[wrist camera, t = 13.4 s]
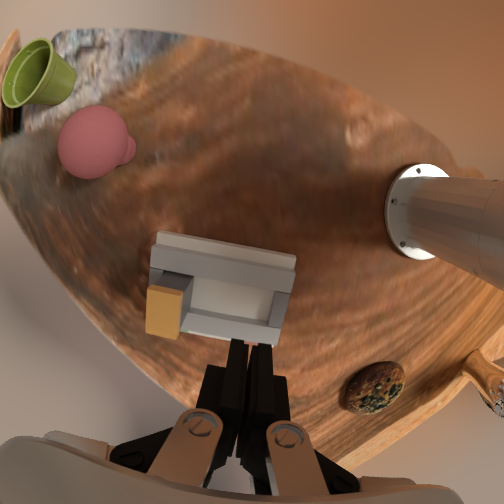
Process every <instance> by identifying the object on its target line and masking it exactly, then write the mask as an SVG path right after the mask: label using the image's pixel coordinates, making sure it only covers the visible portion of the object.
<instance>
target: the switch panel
mask: <svg viewBox="0 0 504 504" xmlns="http://www.w3.org/2000/svg"><path fill="white" fill-rule="evenodd" d="M295 263H296V257H295V255H293V254H287V253H282V252H277V251H271V250H266V249H261V248H256V247H250V246H245V245H240V244H234V243H229V242H224V241H218V240H213V239H207V238H202V237H197V236H191V235H186V234H180V233H175V232H170V231H164V230H160V231H159V232H157V239H156V244H154V245H153V246H152V248H151V259H150V271H149V284H148V287H149V286H150V285H151V284H152V285H154V284H155V283H156V282H157V281H158V280H159V279H160V278H161V276H162V275H163V274H164V273H165V272H166V271H172V272H177V273H182V274H187V275H192V276H194V283H193V291H192V298H191V306H190V308H189V310H188V313H187V315H186V317H185V319H184V321H183V324H182V326H181V328H180V330H179V331H181V332H186V333H192V334H196V335H201V336H206V337H212V338H217V339H222V340H228V341H231V338H235V339H241V340H244V344H251V345H257V346H258V343H265V344H271V345H272V348H273V347H274V345H275V346H277V343H278V339H279V335H280V332H281V328H282V325H283V321H284V317H285V314H286V310H287V306H288V302H289V298H290V295H291V294H290V293H291V291H292V287H293V283H294V279H295V275H296V272H295V270H294V267H295Z"/></svg>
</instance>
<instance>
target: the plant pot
mask: <svg viewBox="0 0 504 504" xmlns="http://www.w3.org/2000/svg"><path fill="white" fill-rule="evenodd" d="M75 80H76V72H75V70H74V68H72V67H71V66H70V65H69V64H68V63H67V62H66V61H65V60H64V59H62V58H61V57H60V56H59V55H58V54H57V53H56V51H55V49H54V48H53V45H52V43H51V41H50V40H48V39H47V38H38V39H35V40H33V41H32V42H30V43H28V44H27V45H26V46H24V47H23V48H22V49H21V50H20V51H19V53H18V54H17V55H16V56H15V58H14V59H13V61H12V62H11V64H10V66H9V68H8V70H7V72H6V75H5V78H4V81H3V86H2V98H3V102H4V103H5V105H6V106H7V107H9V108H17V107H20V106H22V105H26V104H45V105H56V104H59V103H61V102H63V101H64V100H65V99H66V98H67V97H68V96H69V95H70V94H71V92H72V90H73V88H74V83H75Z"/></svg>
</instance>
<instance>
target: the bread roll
mask: <svg viewBox="0 0 504 504" xmlns="http://www.w3.org/2000/svg"><path fill="white" fill-rule="evenodd" d="M405 378H406V376H405V373H404V370H403V367H402V366H400V365H399V364H398V363H394V362H382V363H378V364H375V365H371V366H369V367H368V368H366V369H364V370H362V371H360V372H358V373H357V374H356V375H355V376H354V377H353V378H352V380H351V381H350V384H349V385H348V388H347V391H346V407H347V409H348V410H349V411H350V412H351V413H354V414H358V415H369V414H375V413H377V412H381V411H382V410H383V408H386V407H388V406H389V405H390V404H391V403H393V402H394V401H395V400H396V399H397V398H398V397H399V395H400V394H401V392H402V391H403V388H404V384H405Z"/></svg>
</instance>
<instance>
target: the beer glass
mask: <svg viewBox="0 0 504 504" xmlns="http://www.w3.org/2000/svg"><path fill="white" fill-rule="evenodd" d="M461 373H462V374H463V375H464V376H465V377H467V378H468V379H470V380H471V381H472V382H473V384H474V385H475V387H476V388H477V390H478V392H479V394H480V396H481V397H482V399H483V401H484V402H485V403H486V404H487V406H488V407H489V408H490V409H491V410H492V411H493V412H494V413H495V414H496V415H497V416H498V417H499V418H500V419H503V418H504V369H503V368H501V367H499V366H498V365H496V364H494V363H492V362H491V361H490V360H489V359H488V358H487V357H486V356H485V354H484V353H483V351H482V350H480V349H477V350H475V351H473V352H472V353H471V354H470V355H469V356H468V357H467V358H466V359H465V361H464V363H463V365H462V368H461Z"/></svg>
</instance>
